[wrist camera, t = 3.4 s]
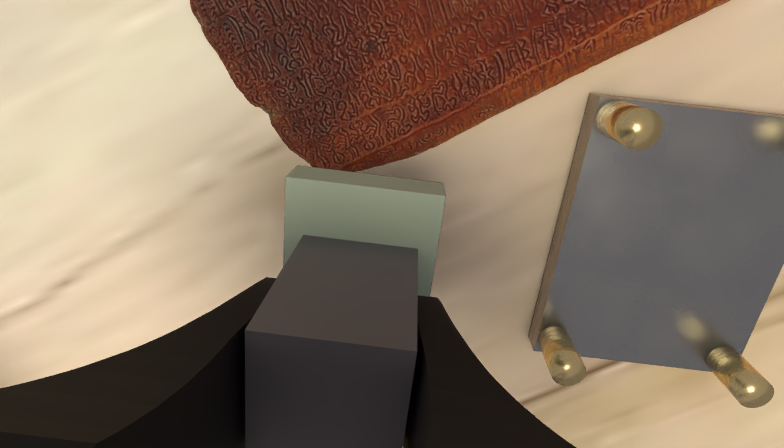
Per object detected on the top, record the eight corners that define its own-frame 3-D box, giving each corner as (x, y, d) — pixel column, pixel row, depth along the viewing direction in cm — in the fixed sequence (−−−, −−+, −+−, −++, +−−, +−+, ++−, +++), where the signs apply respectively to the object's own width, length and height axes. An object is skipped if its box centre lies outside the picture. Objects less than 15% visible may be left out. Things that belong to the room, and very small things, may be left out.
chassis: (717, 358, 20) (766, 410, 17) (528, 336, 20) (546, 384, 17) (823, 119, 16) (907, 136, 13) (589, 93, 16) (625, 104, 13)
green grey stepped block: (415, 364, 15) (413, 535, 10) (290, 348, 15) (222, 511, 10) (443, 182, 13) (459, 278, 8) (297, 165, 13) (213, 247, 8)
